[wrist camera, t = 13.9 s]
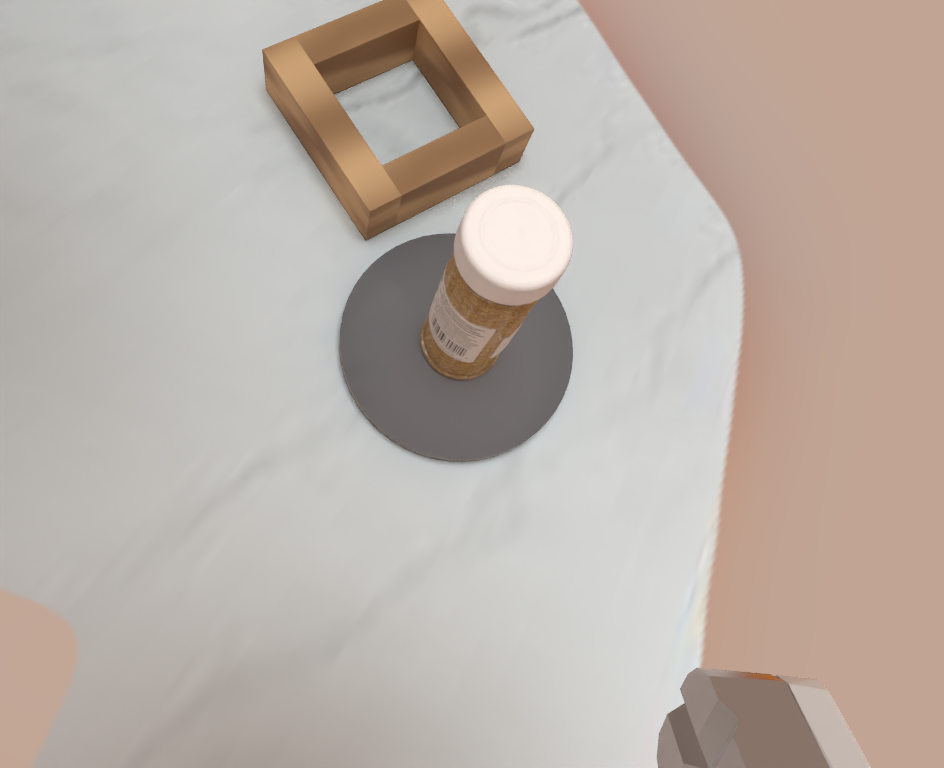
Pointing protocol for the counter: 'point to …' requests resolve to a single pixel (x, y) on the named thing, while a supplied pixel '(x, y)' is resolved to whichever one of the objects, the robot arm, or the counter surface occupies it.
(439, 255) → the slate coaster
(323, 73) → the frame
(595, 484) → the counter surface
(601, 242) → the counter surface
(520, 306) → the sprinkles bottle
